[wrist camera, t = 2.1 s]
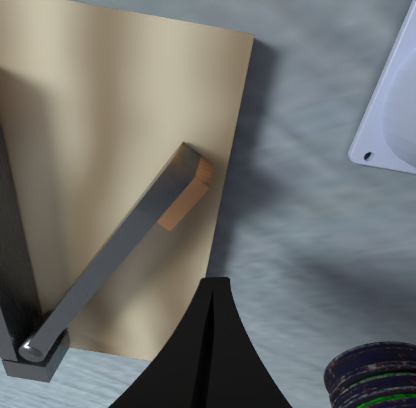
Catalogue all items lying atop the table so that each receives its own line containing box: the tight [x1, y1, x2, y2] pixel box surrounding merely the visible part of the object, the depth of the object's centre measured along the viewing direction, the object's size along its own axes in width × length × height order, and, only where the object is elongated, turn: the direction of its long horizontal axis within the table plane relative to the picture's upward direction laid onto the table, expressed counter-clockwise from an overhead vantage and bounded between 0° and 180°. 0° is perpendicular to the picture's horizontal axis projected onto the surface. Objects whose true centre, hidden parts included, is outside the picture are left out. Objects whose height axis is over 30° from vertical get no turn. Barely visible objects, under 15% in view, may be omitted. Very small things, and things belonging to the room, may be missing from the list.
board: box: [0, 0, 255, 361], centre depth 18 cm, size 15×25×2 cm, turn 171°
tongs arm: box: [19, 141, 213, 362], centre depth 16 cm, size 2×19×3 cm, turn 141°
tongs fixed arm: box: [0, 126, 70, 383], centre depth 16 cm, size 4×21×3 cm, turn 171°
